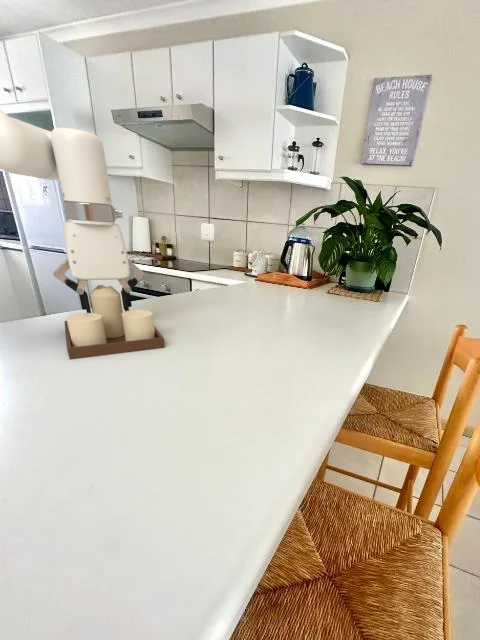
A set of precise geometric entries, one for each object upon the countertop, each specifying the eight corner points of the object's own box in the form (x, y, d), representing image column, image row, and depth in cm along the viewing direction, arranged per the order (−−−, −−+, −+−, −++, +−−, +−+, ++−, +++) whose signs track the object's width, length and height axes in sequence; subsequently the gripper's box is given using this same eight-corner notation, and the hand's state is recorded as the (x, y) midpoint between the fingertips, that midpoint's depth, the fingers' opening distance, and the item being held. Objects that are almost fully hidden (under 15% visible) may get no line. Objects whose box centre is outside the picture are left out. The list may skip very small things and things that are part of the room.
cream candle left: (74, 355, 58) (66, 322, 55) (73, 344, 62) (65, 314, 60) (109, 350, 61) (103, 320, 58) (105, 341, 65) (100, 312, 62)
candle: (92, 333, 68) (82, 285, 64) (118, 328, 72) (111, 282, 68) (103, 340, 65) (94, 290, 61) (130, 335, 69) (123, 287, 65)
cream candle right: (128, 348, 63) (124, 318, 60) (124, 339, 67) (119, 310, 64) (158, 344, 66) (155, 316, 63) (152, 336, 70) (149, 308, 67)
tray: (70, 363, 57) (67, 348, 56) (67, 333, 69) (64, 320, 68) (165, 351, 65) (164, 338, 64) (147, 326, 78) (145, 314, 76)
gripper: (138, 217, 66) (148, 304, 74) (32, 209, 57) (58, 310, 65) (145, 219, 60) (156, 313, 69) (30, 211, 52) (58, 320, 60)
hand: (108, 311), depth 67 cm, fingers open, 6 cm apart
